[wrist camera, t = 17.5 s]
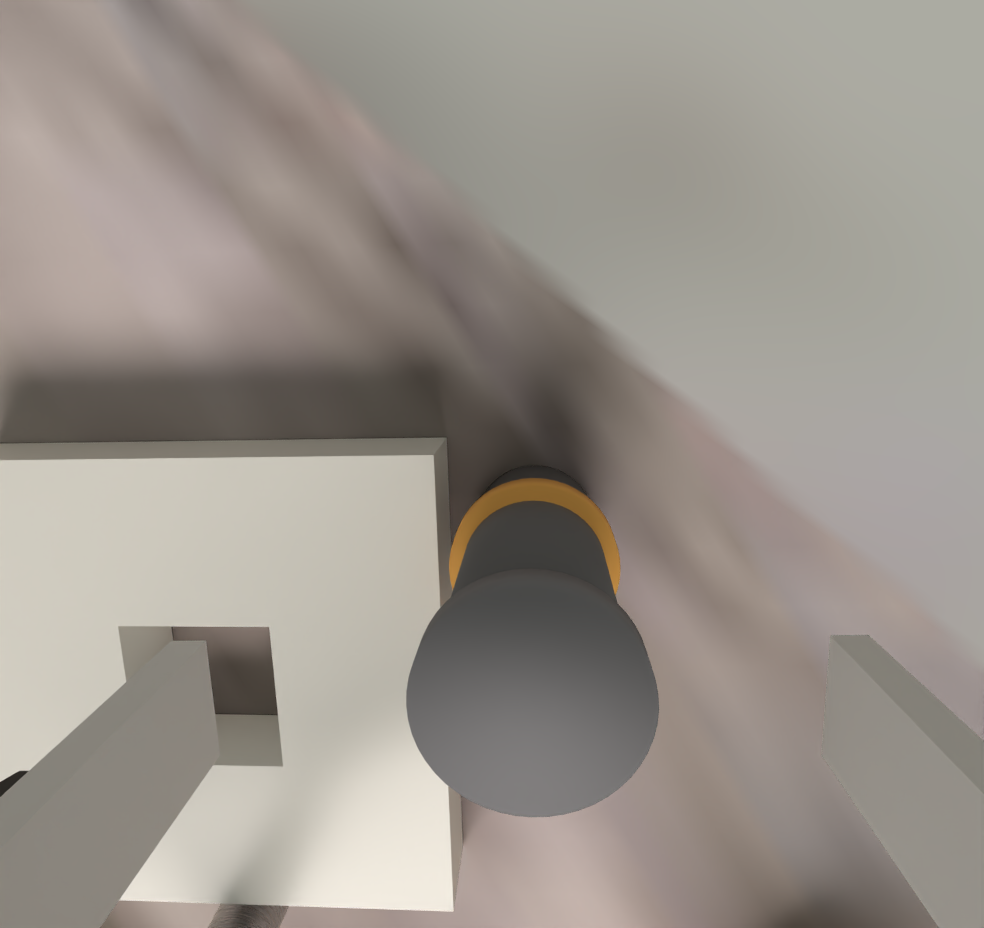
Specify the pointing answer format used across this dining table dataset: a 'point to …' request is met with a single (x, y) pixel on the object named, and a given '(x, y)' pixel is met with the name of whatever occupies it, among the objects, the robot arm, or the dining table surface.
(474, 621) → the plug
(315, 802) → the socket block
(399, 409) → the dining table surface
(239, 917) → the handle
